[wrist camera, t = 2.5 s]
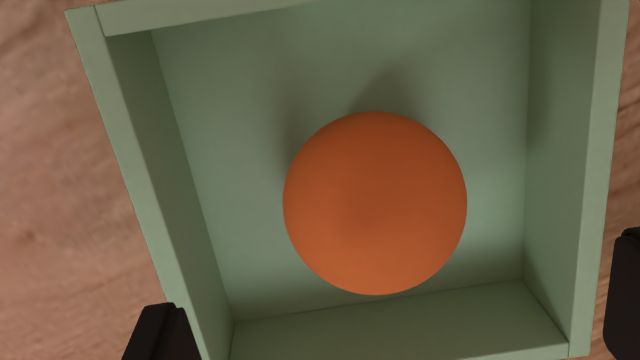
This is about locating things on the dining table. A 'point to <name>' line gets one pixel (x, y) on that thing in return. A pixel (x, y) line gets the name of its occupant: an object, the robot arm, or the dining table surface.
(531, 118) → the box
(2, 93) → the dining table surface
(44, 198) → the dining table surface
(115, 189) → the dining table surface
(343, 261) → the ball
